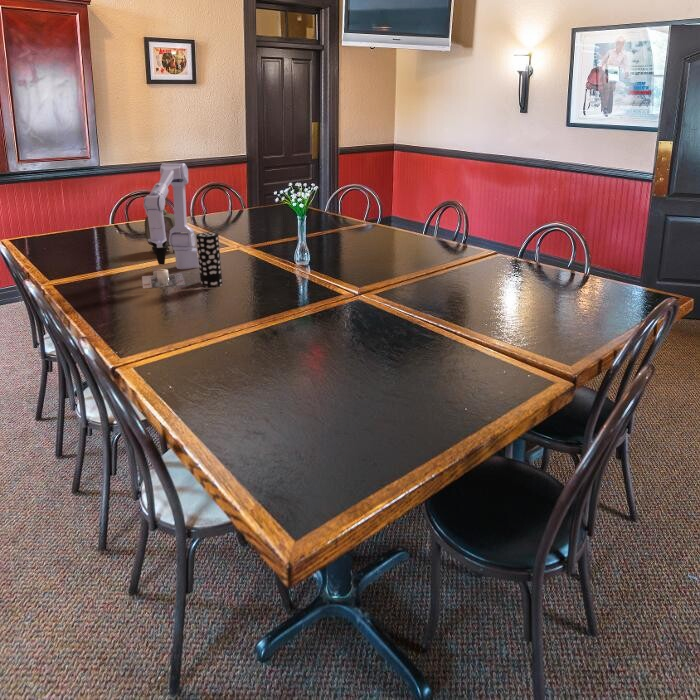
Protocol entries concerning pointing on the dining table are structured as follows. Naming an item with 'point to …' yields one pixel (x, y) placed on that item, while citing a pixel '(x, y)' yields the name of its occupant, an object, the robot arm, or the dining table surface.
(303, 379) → the dining table surface
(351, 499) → the dining table surface
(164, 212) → the tabletop clock
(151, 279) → the hub plate
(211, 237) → the white-spotted black cylinder
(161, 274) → the knob
